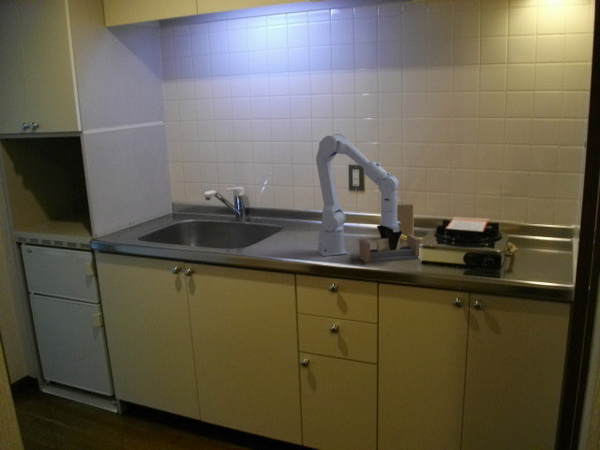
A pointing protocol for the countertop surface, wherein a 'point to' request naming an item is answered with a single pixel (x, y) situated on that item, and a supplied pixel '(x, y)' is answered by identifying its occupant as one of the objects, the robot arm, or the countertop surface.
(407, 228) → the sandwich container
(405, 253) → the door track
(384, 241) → the door panel
